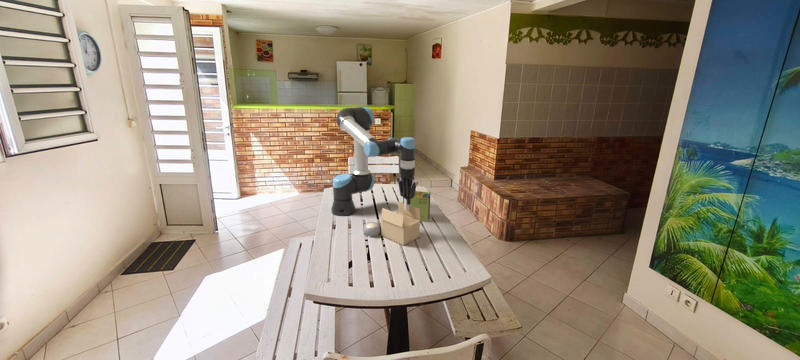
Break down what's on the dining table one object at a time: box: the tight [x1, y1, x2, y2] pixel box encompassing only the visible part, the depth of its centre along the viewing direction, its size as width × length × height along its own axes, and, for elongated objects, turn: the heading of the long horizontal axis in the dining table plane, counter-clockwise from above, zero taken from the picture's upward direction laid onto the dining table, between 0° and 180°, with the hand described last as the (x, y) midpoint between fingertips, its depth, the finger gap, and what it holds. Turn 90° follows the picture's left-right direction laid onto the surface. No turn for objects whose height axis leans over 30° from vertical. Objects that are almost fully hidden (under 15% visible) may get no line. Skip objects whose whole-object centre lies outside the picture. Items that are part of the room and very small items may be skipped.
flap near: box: [380, 207, 404, 227], centre depth 177 cm, size 15×6×1 cm
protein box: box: [404, 190, 431, 223], centre depth 208 cm, size 10×15×16 cm
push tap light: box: [363, 221, 381, 238], centre depth 188 cm, size 9×9×5 cm
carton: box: [380, 211, 421, 246], centre depth 184 cm, size 17×13×10 cm
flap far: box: [397, 201, 420, 219], centre depth 186 cm, size 15×6×1 cm
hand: (406, 209), depth 185 cm, fingers closed
